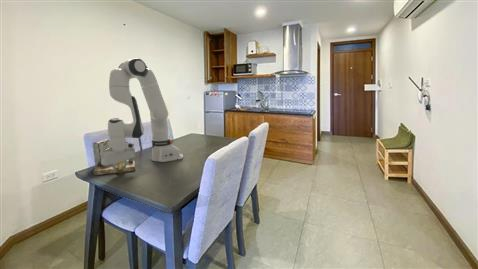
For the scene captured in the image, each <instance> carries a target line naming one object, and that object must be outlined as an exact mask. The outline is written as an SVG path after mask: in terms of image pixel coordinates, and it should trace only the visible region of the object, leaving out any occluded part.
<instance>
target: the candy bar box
mask: <svg viewBox="0 0 478 269" xmlns="http://www.w3.org/2000/svg"><path fill="white" fill-rule="evenodd" d="M108 148H109V138H103V139H100V140H98V141H95V142H92V151H93V159H94V164H95V165H94V166H95V167H96V165H97V164H98V162H101V152H102V151H103V150H104V149H108Z"/></svg>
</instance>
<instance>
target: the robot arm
mask: <svg viewBox="0 0 478 269" xmlns="http://www.w3.org/2000/svg"><path fill="white" fill-rule="evenodd" d="M108 78H109V81H108V85H109V86H108V89H109V96H110V97H111V98H112V99H113V100H114V101H116V102H118V103H119V104H123V105H126V106H128V108H129V109H130V112H131V116H132V121H130V122H129V121H126V122H125V121H124V120H123V118H120V117H113V118H111V119H109V120H108V121H107V136H108V139H109V148H108V149H104V150H103V151H102V152H101V164H102V165H104V166H108V165H111V166H112V167H113V170H114V171H115V170H117V167H115V166H114V165H115V163H118V162H121V161H124V164H123V167H124V168H125V167H126V164H127V162H128V159H131V158H133V159H134V158H135V157H136V149H135V143H132V142H128V141H126V139H130V138H132V139H140V138H141V137H142V136H143V135H144V132H145V129H144V125H143V123H142V122H143V121H142V118H141V116H140V115H141V114H140V110H139V109H140V108H139V106H138V101H137V98H136V97H135V96H134V95H133V94H132V93H131V89H130V80H131V79H137V80H138V82H139V84H140V88H141V90H142V93H143V96H144V98H145V102H146V104H147V107H148V109H149V116H150V125H151V126H150V127H151V148H152V150H151V151H152V153H151V158H150V160H151V161H152V162H153V161H154V162H160V163H165V162H167V163H168V162H172V161H177V159H178V160H183V158H184V155H183V153H180V152H181V150H180V149H179V148H178V147H177V146H175V145H174V144H173V142H174V141H173V140H172V139H170V138H169V128H168V127H169V126H168V116H169V111H168V107H167V105H166V103H165V100H164V97H163V95H162V92H161V88H160V85H159V83H158V81H157V78H156V76H155V73H154V72H153V70H152V69H151V68H148V66H147V64H146V63H145V61H143V59H140V58H138V57H137V58H135V57H134V58H132V59H128V60H126V61H124V62H122V63H121V64H119V66H118V67H117V68H114V69H112V70H111V71H110V73H109V77H108Z"/></svg>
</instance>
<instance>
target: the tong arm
mask: <svg viewBox="0 0 478 269" xmlns="http://www.w3.org/2000/svg"><path fill="white" fill-rule="evenodd" d="M121 162H123V164H124V161H121ZM128 163H129V161H128V162H127V164H128ZM115 165H117V163H115ZM102 166H104V165H102V164H101V162H100V163H98V167H102ZM108 166H110V165H108Z"/></svg>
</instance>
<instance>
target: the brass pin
mask: <svg viewBox="0 0 478 269" xmlns="http://www.w3.org/2000/svg"><path fill="white" fill-rule="evenodd" d="M116 174H117V175H120V176H121V175H124V172H123V162H118V163H117V173H116Z"/></svg>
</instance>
